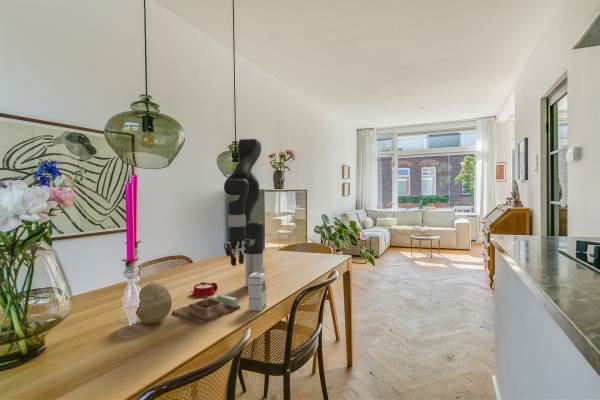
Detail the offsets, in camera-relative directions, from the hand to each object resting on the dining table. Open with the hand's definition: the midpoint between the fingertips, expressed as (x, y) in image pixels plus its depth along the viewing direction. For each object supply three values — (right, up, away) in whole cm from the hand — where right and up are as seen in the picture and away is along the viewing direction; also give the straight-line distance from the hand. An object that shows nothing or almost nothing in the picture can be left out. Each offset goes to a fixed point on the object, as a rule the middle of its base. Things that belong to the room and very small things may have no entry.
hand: (237, 264), depth 144 cm
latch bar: (-3, -16, -4) cm, 17 cm away
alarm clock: (-19, -17, +17) cm, 31 cm away
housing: (-11, -18, -8) cm, 22 cm away
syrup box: (+9, -18, -5) cm, 21 cm away
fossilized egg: (-28, -18, -20) cm, 39 cm away
